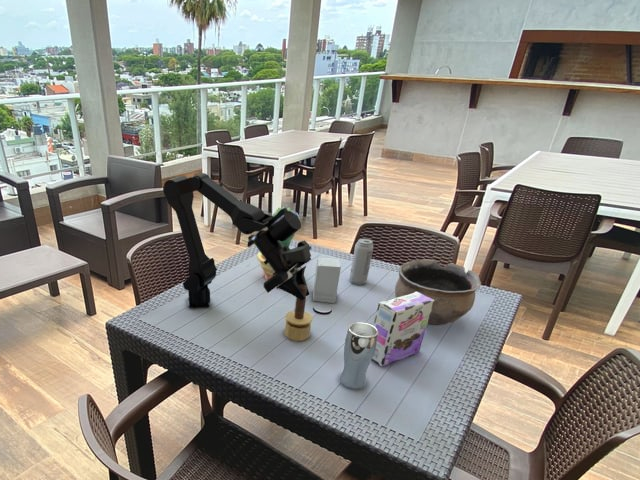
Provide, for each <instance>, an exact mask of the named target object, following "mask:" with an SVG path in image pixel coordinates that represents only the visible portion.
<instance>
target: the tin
mask: <svg viewBox="0 0 640 480" xmlns="http://www.w3.org/2000/svg"><path fill="white" fill-rule="evenodd" d="M311 323H312V322H311ZM311 323H309V324H307V325H294V324H291V323H289V322H288V321H287V320H286V319H285V323H284V336H285V337H286V338H287V339H289V340H290V341H293V342H303V341H306V340H308V339H309V337H310V333H311V328H312V327H311V325H312V324H311Z"/></svg>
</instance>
